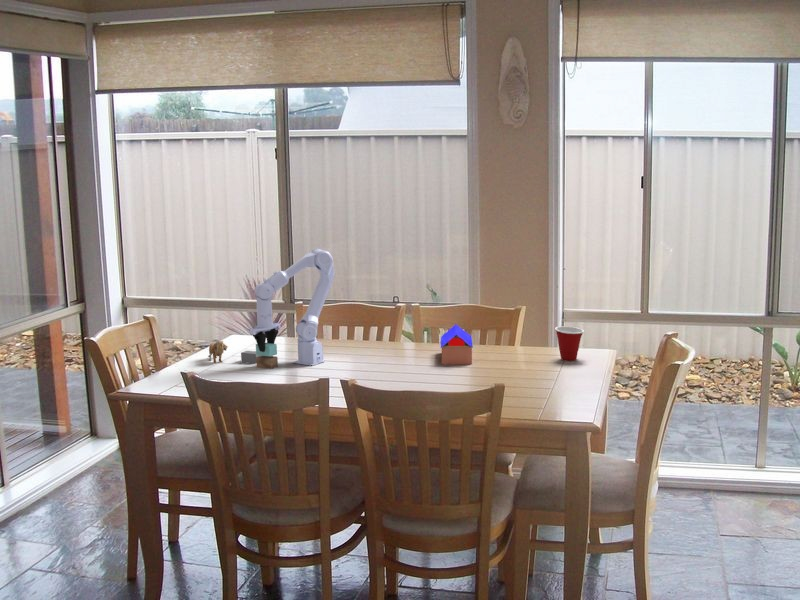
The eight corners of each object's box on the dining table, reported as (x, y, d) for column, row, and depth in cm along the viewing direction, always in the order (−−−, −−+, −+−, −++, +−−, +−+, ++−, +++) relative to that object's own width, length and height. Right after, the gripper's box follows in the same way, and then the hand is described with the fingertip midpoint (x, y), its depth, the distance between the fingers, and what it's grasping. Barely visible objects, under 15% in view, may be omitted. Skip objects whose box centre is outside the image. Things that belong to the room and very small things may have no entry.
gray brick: (262, 361, 349) (261, 351, 348) (256, 364, 345) (255, 354, 344) (247, 360, 352) (246, 350, 351) (241, 362, 348) (240, 352, 348)
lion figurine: (230, 363, 347) (228, 340, 345) (217, 365, 344) (215, 342, 342) (214, 356, 359) (213, 335, 357) (202, 359, 356) (200, 336, 354)
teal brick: (277, 354, 339) (276, 344, 338) (269, 356, 335) (269, 346, 335) (263, 352, 343) (263, 342, 342) (256, 354, 339) (255, 344, 339)
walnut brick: (277, 366, 340) (277, 356, 339) (271, 369, 336) (271, 358, 336) (263, 365, 343) (262, 355, 342) (256, 367, 340) (256, 357, 339)
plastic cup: (581, 363, 333) (582, 331, 331) (552, 361, 336) (552, 330, 334) (585, 356, 343) (585, 326, 341) (557, 355, 346) (557, 325, 344)
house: (441, 365, 337) (440, 334, 335) (441, 353, 356) (440, 324, 354) (472, 364, 336) (472, 334, 334) (471, 352, 356) (471, 324, 354)
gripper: (270, 311, 345) (271, 345, 347) (243, 317, 333) (245, 352, 335) (283, 312, 341) (285, 347, 343) (257, 318, 329) (259, 354, 331)
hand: (266, 350), depth 339 cm, fingers closed on teal brick, 4 cm apart
